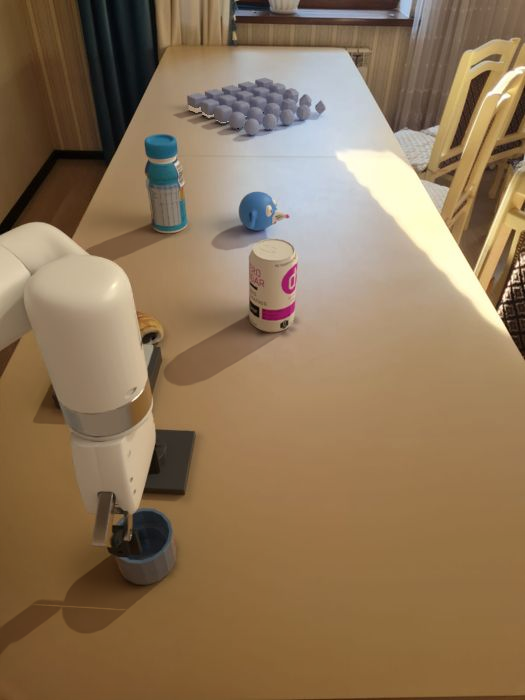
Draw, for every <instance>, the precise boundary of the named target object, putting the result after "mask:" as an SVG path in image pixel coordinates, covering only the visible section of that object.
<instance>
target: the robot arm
mask: <svg viewBox="0 0 525 700" xmlns="http://www.w3.org/2000/svg"><path fill="white" fill-rule="evenodd" d="M136 311H137V309H136V303H135V299H134V293H133V288H132V286H131V282H130V279H129V276H128V275H127V273H126V272H125V270H124V269H123V268H122V267H121V266H120V265H118V264H117V263H116V262H115V261H113V260H111V259H109V258H105V257H102V256H97V255H92V254H89V252H87V251H86V250H85V249H84V248H83V247H81V246H80V245H79V244H78V243H76V242H75V241H74V240H73V239H72V238H71V237H70V236H68V235H67V234H66V233H64V232H63V231H62V230H60V229H59V228H57V227H55V225H51V224H50V223H46V222H44V221H43V222H41V221H33V222H32V221H31V222H27V223H25V224H22V225H20V226H17V227H15V228H12V229H11V230H9V231H6V232H4V233H2V234H0V352H1V351H2V350H4V349H6V348H8V347H9V346H10V345H12V344H13V343H15V342H16V341H18V340H19V339H21V338H23V337H24V336H26V335H28V334H29V333H30V332H33V335H34V337H35V340H36V343H37V345H38V348H39V351H40V354H41V356H42V359H43V362H44V365H45V367H46V371H47V373H48V376H49V377H48V378H49V379H50V382H51V385H52V388H53V392H54V391H55V393H56V396H57V399H58V402H59V404H60V407H61V409H60V410H61V412H62V415H63V419H64V423H65V424H66V426H67V428H68V429H69V431H70V432H71V433H70V437H69V439H70V440H69V441H70V442H69V443H70V452H71V453H70V454H71V461H72V465H73V466H72V467H73V472H74V475H75V479H76V483H77V488H78V491H79V494H80V498H81V500H82V503H83V506H84V508H85V511H86V512H87V513H88V514H90V515H95V519H94V526H93V531H92V539H91V540H92V541H91V545H92V547H98V548H106V549H107V552H108V554H110V555H113V556H114V557H115V556H116V557H129V555H140V554H141V551H142V548H141V544H140V541H139V537H138V534H137V530H136V529H135V528H132V521H133V514H134V513H135V512H136V511H137V509H139V507H140V505H141V500H142V497H143V494H144V493H143V490H144V486H145V483H146V479H147V475H148V474H158V473H160V470H161V466H160V461H159V456H158V451H157V447H154V446H155V443H156V433H155V429H156V425H155V419H154V415H153V412H152V411H153V408H154V397H153V394H152V393H151V387H150V382H149V377H148V372H147V366H146V361H145V356H144V350H143V345H142V340H141V335H140V329H139V324H138V319H137V314H136ZM115 515H123V516H124V523H123V525H116V524H113V523H114V518H115Z"/></svg>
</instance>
